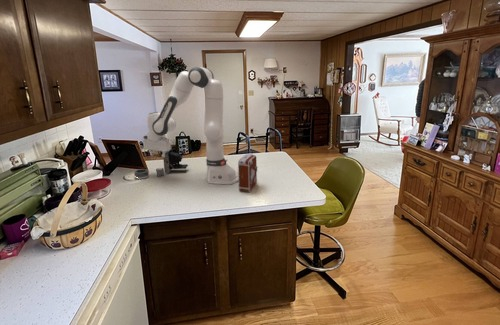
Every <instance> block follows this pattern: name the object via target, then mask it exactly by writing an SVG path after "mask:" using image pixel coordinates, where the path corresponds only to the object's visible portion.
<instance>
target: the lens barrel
mask: <svg viewBox="0 0 500 325" xmlns="http://www.w3.org/2000/svg"><path fill="white" fill-rule="evenodd" d="M133 173H134V177H135V176H136V177H138V178H139V179H140V180H146V179H148V178H149V177H150V174H149V173H150V172H149V169H148V168H140V169H136V170H134V172H133ZM139 179H138V180H139Z"/></svg>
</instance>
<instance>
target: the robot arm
mask: <svg viewBox="0 0 500 325" xmlns="http://www.w3.org/2000/svg"><path fill="white" fill-rule="evenodd" d="M214 78H215V77H214V73H213V72H212V70H210V68H206V67H203V66H202V67H201V66H195V67H192V68H191V69H190V70H189V71H187V70H186V71H185V70H183V71H180V73H179V74H178V76H177V77H176V79H175V81H174V84H173V85H172V88H171V90H170V93H169V96H168V98H167V100H166V102H165V103H164V105H163V107H162V109H161V111H160V112H159V111H155V112H149V113H148V114H147V117H146V118H147V127H148V134H144V135H142V139H143V141H142V143H143V149H145V150H148V152H149V154H150V156H151V157H154V155H155V153H154V152H153V151H158V152H161V153H162V154H161V158H163V157H165V153H166V152H167V151H170V149H171V148H170V145H171V143H170V140H169V138H168V137H164V136H165V135H166V134H168V133H170V132H172V131H174V130H175V129H176V126H177V122H176V121H175V120H176V119H174V118H172V115H173V114H174V111H175V110H176V109H177V108H179V106H181V105H182V104H184V103H185V102H186V101H187V100H188V98H189V97H190V95H191V93H192V90H193V89H194V87H195V86H196V87H198V88H201V89H203V90H204V97H205V98H204V123H203V124H204V126H203V132H204V135H205V138H206V145H205V146H206V150H205V151H206V160H205V161H206V162H205V163H206V175H205V180H206V182H207V183H208V184H211V185H212V184H215V185H217V184H218V185H230V186H231V185H233V184H235V183H237V182H239V176H238V175H237V173H236V171H235V169H234V168H233V167H231V166H230V165H229V164H228V163H227V162H228V159H226V158H225V155H224V154H225V153H224V152H225V151H224V125H223V118H224V117H223V114H224V89H223V84H222V82H221V81H219V79H214Z"/></svg>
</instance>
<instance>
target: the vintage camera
mask: <svg viewBox="0 0 500 325" xmlns="http://www.w3.org/2000/svg"><path fill="white" fill-rule="evenodd" d="M170 148H171V149H170V151H167V152H166V153H165V157H162V158H163V168H164V174H169V173H170V172H171V171H172V170H184V169H185V172H187V168H188V166H189V164H185V163H181V162H182V160H183V156H184V154H185V151H181V152H180V153H179V152H175V151H172V150H173V149H172V148H173V147H172V145H171V144H170Z"/></svg>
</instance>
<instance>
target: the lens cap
mask: <svg viewBox="0 0 500 325" xmlns="http://www.w3.org/2000/svg"><path fill="white" fill-rule="evenodd" d="M155 171H156V172H155V173H156V177H157V178H162V177H164V176H165V171H164V167H159V168H156V169H155Z"/></svg>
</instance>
